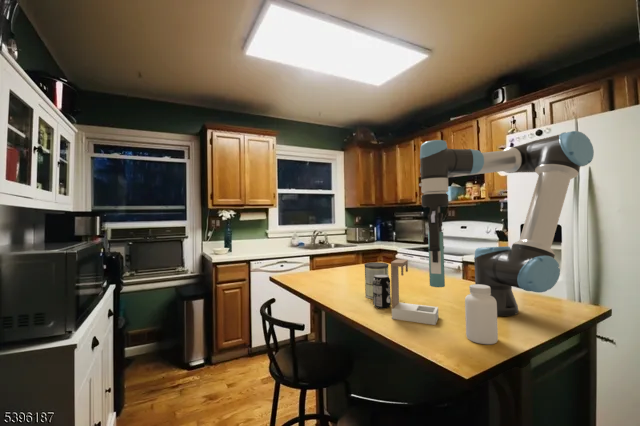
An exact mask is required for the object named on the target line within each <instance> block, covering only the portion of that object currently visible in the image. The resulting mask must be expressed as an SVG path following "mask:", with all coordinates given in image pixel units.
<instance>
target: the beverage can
mask: <svg viewBox="0 0 640 426" xmlns="http://www.w3.org/2000/svg"><path fill="white" fill-rule="evenodd" d="M372 302H373V306H374V307H375V308H377V309H380V310H381V309H389V308H390V307H391V306H392V297H391V277H390V274H388V275H386V274H376V275H374V278H373V299H372Z"/></svg>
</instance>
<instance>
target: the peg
mask: <svg viewBox="0 0 640 426" xmlns="http://www.w3.org/2000/svg"><path fill="white" fill-rule="evenodd" d="M427 234H428V235H427V237H428V238H427V239H428V241H427V242H428V243H427V244H428V247H429V246H430V245H429V231H428V232H427ZM444 249H445V246H444V231H442V232H440V251H441V274H433V273H431V256H430V251H428V266H429V267H428V273H429V286H430V287H431V288H445V287H446V284H445V282H446V281H445V278H446V277H445V250H444Z"/></svg>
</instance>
